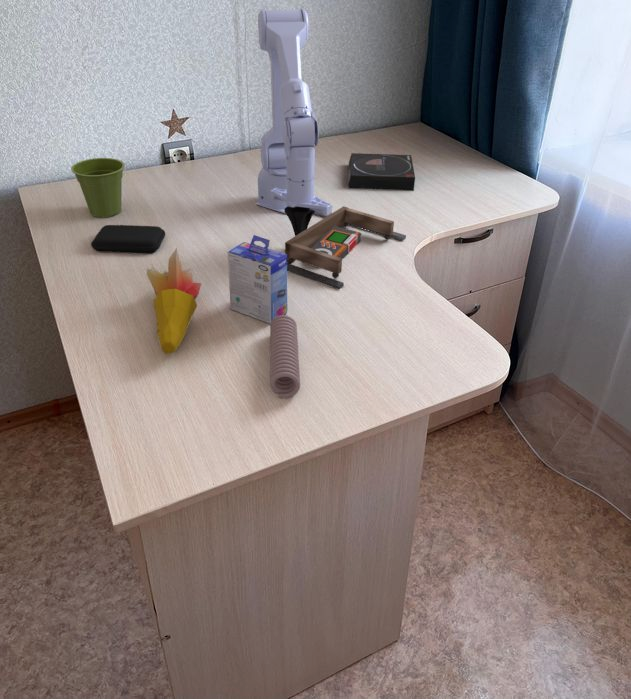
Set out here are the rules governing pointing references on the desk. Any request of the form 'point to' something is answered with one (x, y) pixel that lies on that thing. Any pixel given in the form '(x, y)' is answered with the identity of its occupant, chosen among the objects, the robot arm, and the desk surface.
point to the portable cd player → (381, 172)
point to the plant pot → (101, 184)
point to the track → (325, 279)
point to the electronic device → (338, 242)
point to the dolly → (308, 238)
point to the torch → (173, 302)
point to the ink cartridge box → (258, 280)
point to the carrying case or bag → (128, 239)
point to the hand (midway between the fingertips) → (300, 237)
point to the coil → (284, 356)
